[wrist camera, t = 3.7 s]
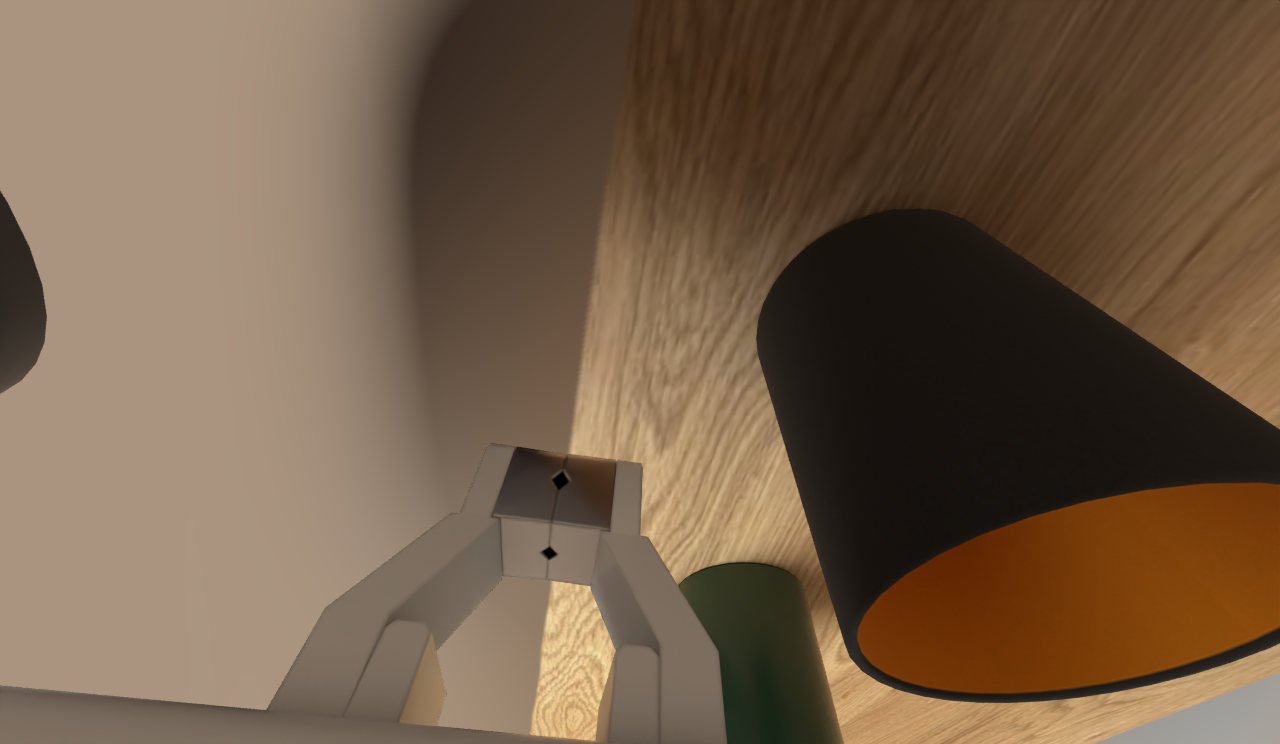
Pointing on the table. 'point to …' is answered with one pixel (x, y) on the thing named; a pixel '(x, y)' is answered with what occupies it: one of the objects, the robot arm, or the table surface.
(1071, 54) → the table surface
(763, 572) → the canister
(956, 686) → the mug
